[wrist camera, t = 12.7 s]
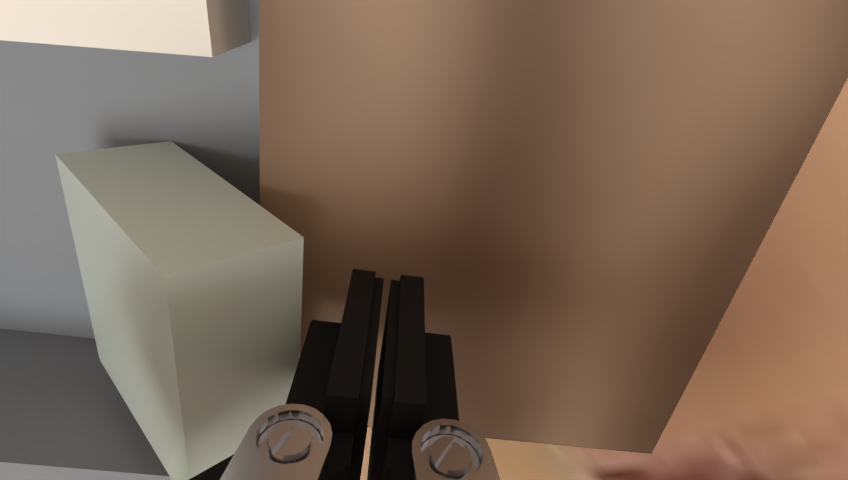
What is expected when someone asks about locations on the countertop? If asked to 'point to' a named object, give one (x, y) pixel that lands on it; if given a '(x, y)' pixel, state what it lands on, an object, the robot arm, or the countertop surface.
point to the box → (53, 240)
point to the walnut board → (544, 182)
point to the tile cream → (130, 24)
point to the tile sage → (185, 296)
